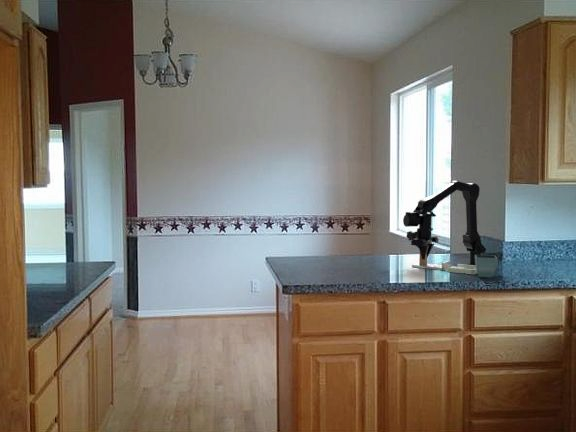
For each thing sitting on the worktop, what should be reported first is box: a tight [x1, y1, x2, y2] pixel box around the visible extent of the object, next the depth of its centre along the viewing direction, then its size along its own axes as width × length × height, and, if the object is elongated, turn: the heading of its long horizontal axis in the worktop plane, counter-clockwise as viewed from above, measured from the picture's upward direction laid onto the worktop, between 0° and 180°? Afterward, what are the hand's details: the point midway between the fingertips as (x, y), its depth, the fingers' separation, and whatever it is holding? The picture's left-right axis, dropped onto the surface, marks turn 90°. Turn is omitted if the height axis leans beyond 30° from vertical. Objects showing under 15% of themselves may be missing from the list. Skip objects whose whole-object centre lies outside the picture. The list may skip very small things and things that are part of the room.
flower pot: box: [475, 254, 499, 279], centre depth 273 cm, size 9×9×9 cm
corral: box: [447, 263, 478, 275], centre depth 288 cm, size 13×12×2 cm
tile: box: [444, 265, 465, 272], centre depth 291 cm, size 7×7×2 cm
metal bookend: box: [411, 250, 452, 271], centre depth 297 cm, size 16×8×8 cm, turn 54°
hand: (424, 258), depth 299 cm, fingers closed on metal bookend, 3 cm apart
